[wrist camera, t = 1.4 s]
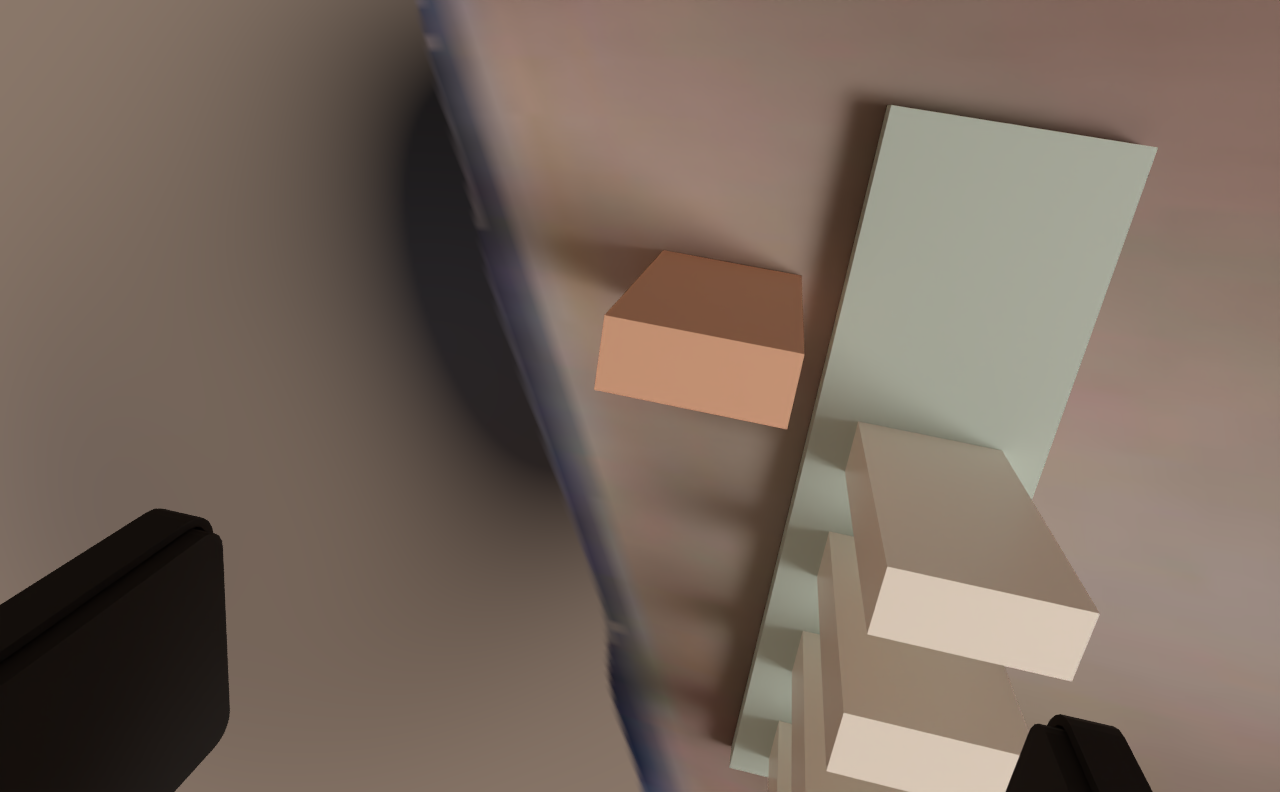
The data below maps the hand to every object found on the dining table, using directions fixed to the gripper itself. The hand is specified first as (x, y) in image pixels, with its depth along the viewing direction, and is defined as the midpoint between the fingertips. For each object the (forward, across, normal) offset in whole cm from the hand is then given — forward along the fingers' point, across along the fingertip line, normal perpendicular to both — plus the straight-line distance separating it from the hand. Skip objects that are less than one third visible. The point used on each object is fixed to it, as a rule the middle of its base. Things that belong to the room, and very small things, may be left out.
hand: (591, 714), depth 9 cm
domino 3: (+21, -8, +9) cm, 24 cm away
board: (+22, -8, +6) cm, 24 cm away
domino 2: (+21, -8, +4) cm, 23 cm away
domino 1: (+22, 0, 0) cm, 22 cm away
